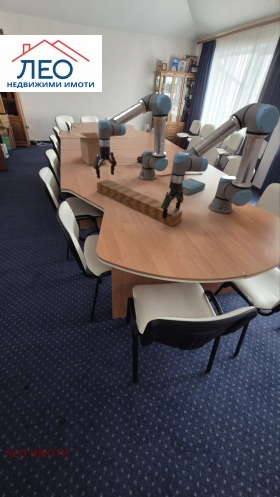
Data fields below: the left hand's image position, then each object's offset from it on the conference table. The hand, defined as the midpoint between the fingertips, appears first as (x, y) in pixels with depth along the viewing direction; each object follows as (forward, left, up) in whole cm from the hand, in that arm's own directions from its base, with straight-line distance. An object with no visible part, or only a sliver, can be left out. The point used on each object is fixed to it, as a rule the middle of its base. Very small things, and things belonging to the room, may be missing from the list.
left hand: (105, 176), depth 166 cm
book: (-69, -8, -12) cm, 71 cm away
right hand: (-41, +46, -8) cm, 62 cm away
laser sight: (-42, -82, -12) cm, 93 cm away
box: (+15, -82, -12) cm, 85 cm away
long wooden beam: (-21, +23, -12) cm, 33 cm away
